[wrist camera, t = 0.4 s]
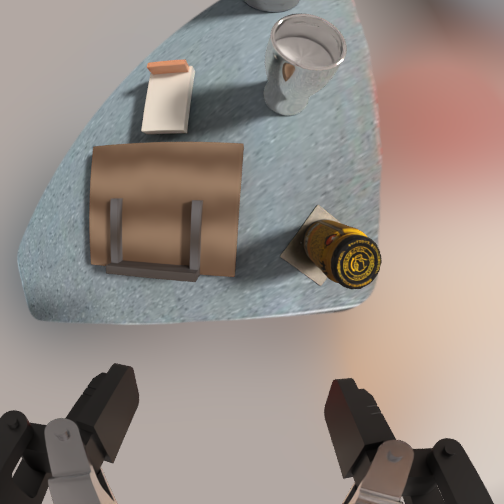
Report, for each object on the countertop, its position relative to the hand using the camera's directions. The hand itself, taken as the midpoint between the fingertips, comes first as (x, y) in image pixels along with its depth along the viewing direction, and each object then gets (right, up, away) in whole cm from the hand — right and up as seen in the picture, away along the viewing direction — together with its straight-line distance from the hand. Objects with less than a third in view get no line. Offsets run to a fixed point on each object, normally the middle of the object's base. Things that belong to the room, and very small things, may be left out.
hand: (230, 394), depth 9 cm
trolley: (-10, +25, +22) cm, 35 cm away
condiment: (+10, +6, +26) cm, 29 cm away
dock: (-11, +12, +25) cm, 29 cm away
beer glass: (+5, +26, +22) cm, 35 cm away
